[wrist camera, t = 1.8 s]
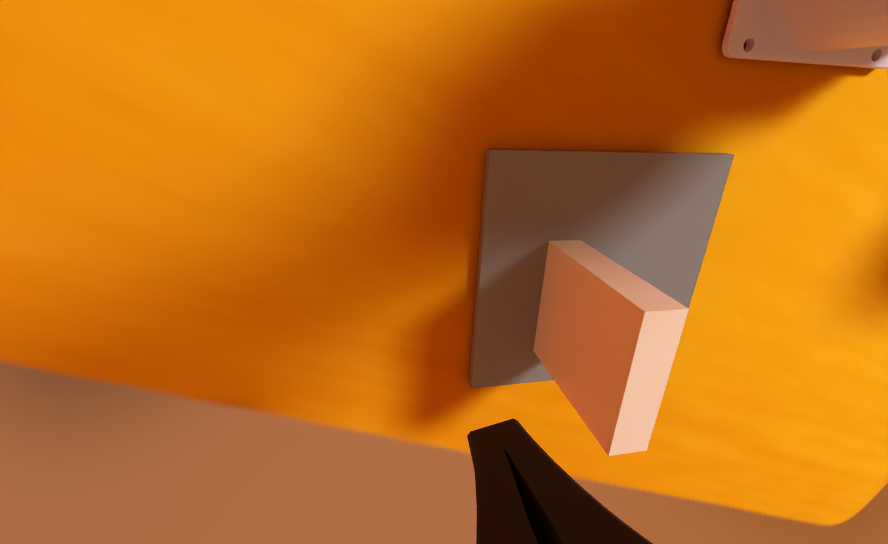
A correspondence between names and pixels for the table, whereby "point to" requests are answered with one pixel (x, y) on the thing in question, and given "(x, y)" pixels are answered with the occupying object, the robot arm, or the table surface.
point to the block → (607, 342)
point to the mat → (582, 236)
